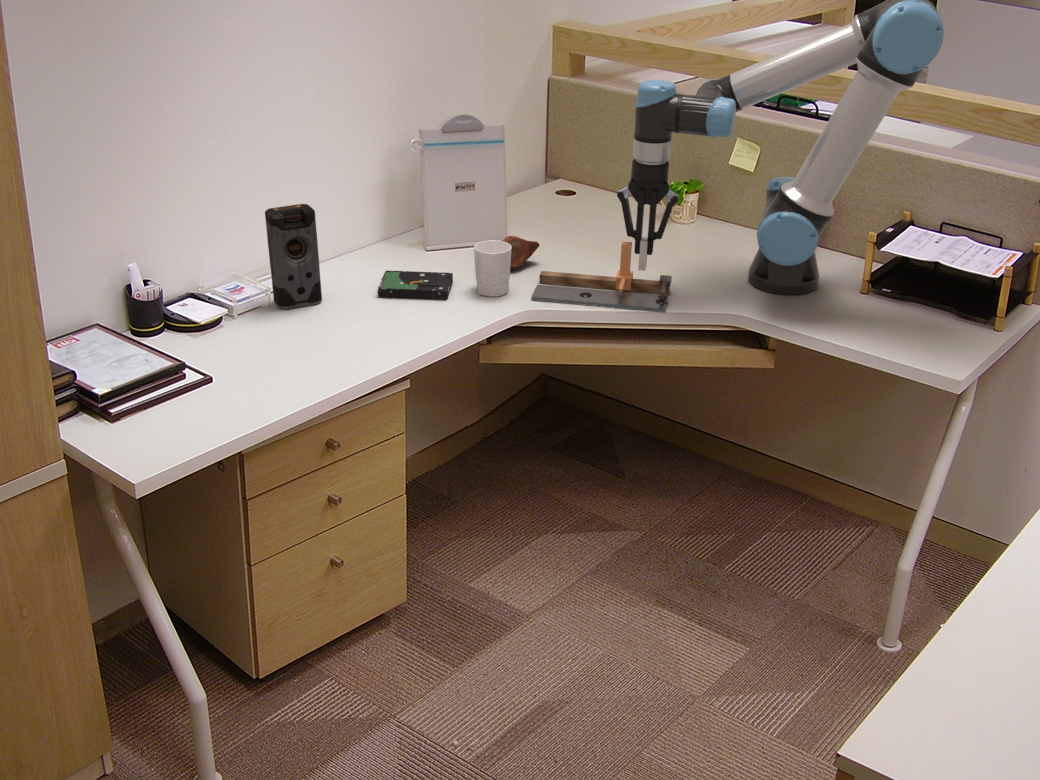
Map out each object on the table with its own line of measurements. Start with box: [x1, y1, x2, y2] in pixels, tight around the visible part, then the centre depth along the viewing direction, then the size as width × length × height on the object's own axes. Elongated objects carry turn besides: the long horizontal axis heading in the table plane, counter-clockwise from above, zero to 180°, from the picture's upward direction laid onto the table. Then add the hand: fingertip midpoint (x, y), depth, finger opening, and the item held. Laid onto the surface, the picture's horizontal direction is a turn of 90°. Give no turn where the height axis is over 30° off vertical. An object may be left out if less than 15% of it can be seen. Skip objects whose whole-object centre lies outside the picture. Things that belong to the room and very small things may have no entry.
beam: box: [539, 270, 673, 300], centre depth 229 cm, size 28×10×3 cm, turn 79°
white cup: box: [473, 239, 512, 298], centre depth 228 cm, size 8×8×10 cm
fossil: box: [501, 235, 540, 269], centre depth 241 cm, size 13×8×10 cm
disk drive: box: [377, 270, 454, 301], centre depth 230 cm, size 10×3×15 cm
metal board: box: [530, 284, 669, 313], centre depth 226 cm, size 28×7×1 cm, turn 79°
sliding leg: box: [615, 241, 634, 297], centre depth 227 cm, size 3×10×10 cm, turn 169°
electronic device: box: [264, 203, 323, 311], centre depth 219 cm, size 9×6×20 cm, turn 117°
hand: (642, 268), depth 230 cm, fingers closed
